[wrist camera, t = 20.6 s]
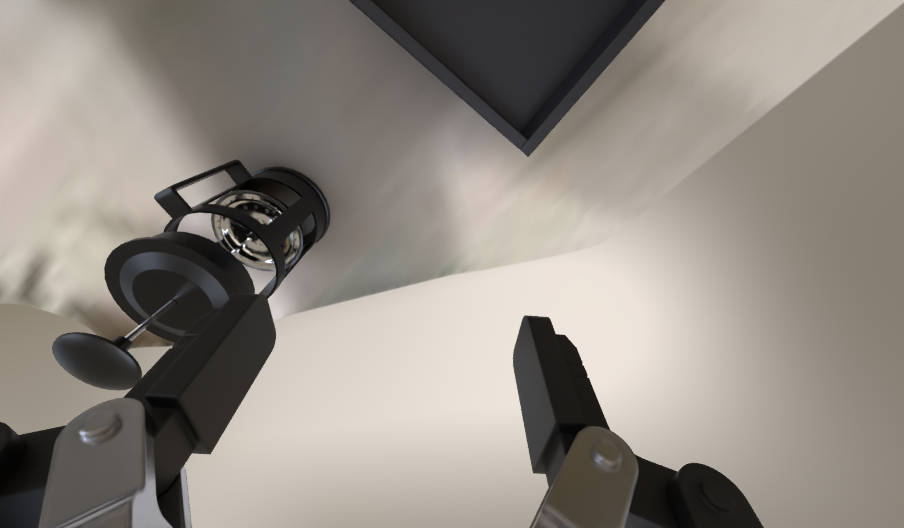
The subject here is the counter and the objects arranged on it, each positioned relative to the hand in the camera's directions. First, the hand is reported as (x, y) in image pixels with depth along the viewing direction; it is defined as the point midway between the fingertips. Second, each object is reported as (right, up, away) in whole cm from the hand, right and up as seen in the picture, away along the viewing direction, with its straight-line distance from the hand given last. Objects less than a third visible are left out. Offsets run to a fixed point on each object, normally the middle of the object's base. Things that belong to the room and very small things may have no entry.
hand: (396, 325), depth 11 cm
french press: (-17, +9, +27) cm, 32 cm away
